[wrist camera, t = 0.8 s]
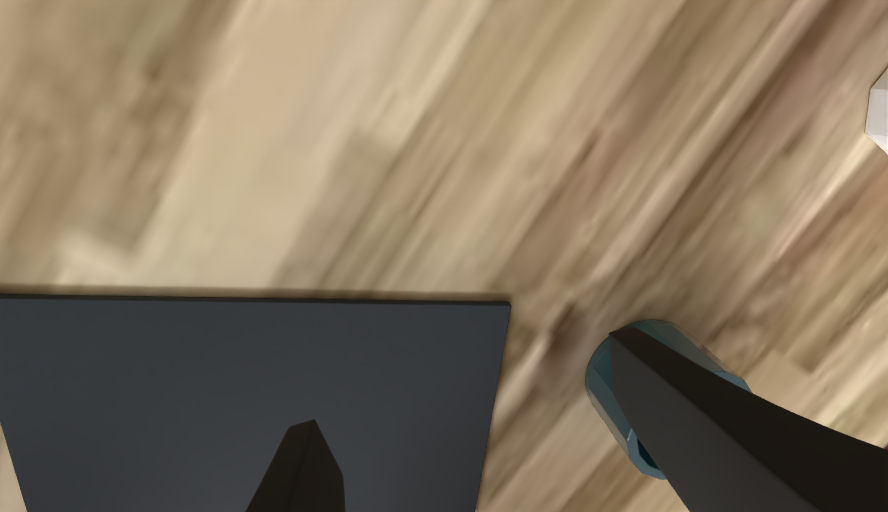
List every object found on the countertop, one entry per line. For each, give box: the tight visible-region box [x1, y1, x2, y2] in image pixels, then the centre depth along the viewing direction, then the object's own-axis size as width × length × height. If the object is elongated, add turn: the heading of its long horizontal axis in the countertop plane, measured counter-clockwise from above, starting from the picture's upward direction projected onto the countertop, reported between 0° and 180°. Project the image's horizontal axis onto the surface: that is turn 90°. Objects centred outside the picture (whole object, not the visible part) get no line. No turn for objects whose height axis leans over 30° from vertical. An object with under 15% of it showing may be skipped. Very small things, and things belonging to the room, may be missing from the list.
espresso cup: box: [585, 320, 752, 480], centre depth 24 cm, size 6×6×4 cm
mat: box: [0, 294, 511, 512], centre depth 23 cm, size 14×22×1 cm, turn 84°
